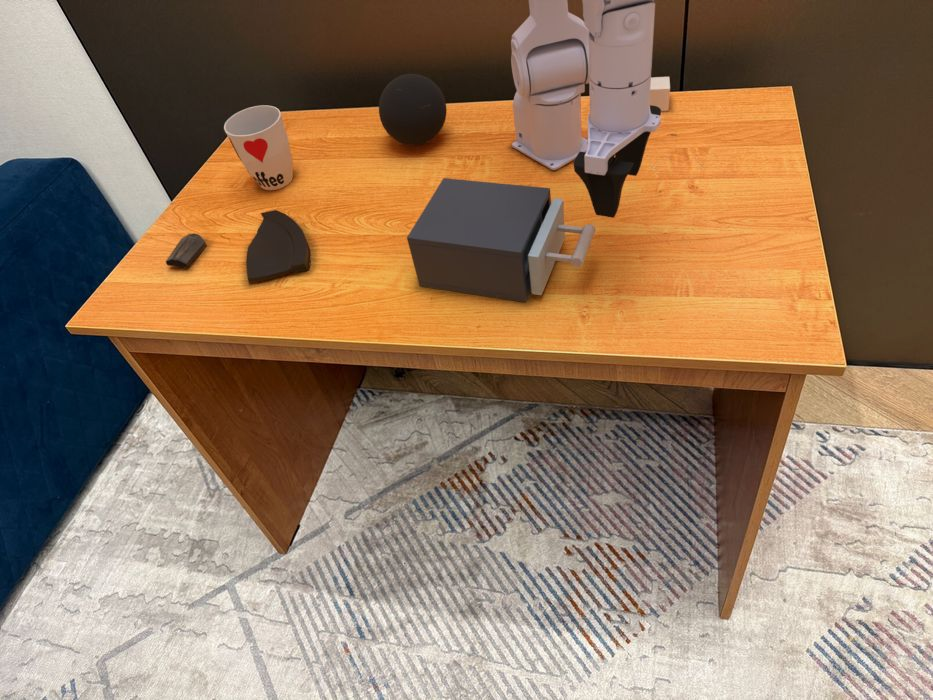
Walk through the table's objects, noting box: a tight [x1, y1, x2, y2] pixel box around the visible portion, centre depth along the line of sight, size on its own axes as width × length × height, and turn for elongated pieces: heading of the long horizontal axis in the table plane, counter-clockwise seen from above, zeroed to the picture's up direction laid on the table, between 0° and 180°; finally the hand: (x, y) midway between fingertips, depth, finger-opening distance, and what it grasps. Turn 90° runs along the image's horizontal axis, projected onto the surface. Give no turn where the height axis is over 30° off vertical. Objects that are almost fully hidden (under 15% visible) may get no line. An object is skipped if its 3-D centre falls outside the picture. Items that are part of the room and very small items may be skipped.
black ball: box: [378, 73, 447, 146], centre depth 103 cm, size 10×10×10 cm
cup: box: [223, 104, 294, 191], centre depth 101 cm, size 8×8×10 cm
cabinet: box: [406, 177, 552, 303], centre depth 83 cm, size 14×12×8 cm
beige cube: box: [649, 76, 671, 112], centre depth 102 cm, size 4×4×4 cm
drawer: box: [523, 197, 596, 296], centre depth 81 cm, size 17×10×6 cm, turn 70°
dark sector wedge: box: [245, 209, 312, 284], centre depth 93 cm, size 8×14×2 cm, turn 9°
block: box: [165, 233, 207, 268], centre depth 95 cm, size 4×6×2 cm, turn 171°
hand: (617, 193), depth 75 cm, fingers open, 7 cm apart
